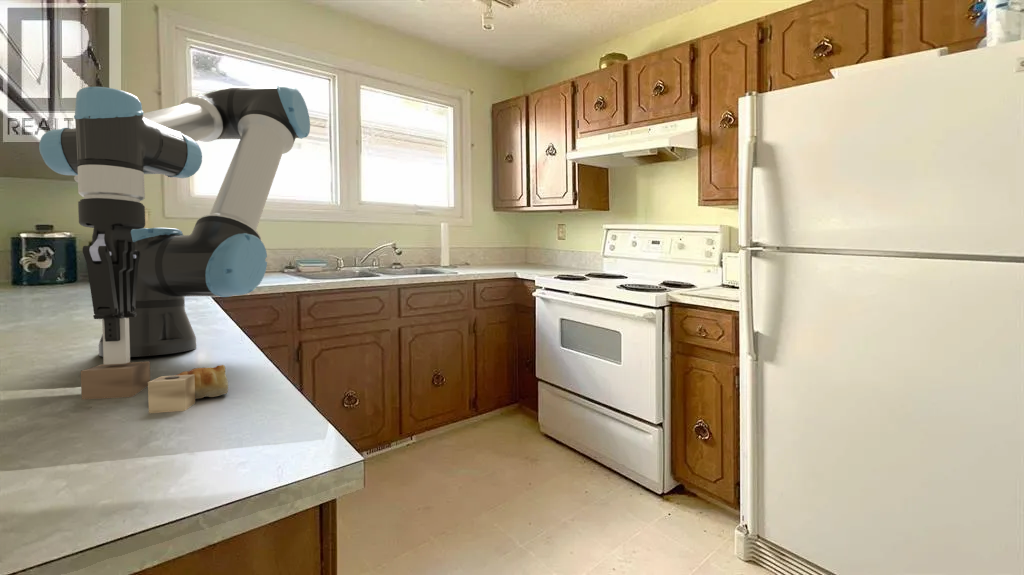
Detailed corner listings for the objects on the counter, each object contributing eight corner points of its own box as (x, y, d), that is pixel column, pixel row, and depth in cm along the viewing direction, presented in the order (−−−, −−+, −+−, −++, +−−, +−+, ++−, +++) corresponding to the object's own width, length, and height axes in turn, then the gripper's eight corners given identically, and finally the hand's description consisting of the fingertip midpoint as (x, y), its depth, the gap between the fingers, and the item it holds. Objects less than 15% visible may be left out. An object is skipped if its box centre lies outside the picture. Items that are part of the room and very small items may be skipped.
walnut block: (104, 393, 75) (103, 363, 75) (150, 390, 76) (149, 361, 76) (81, 403, 69) (80, 370, 69) (132, 399, 71) (131, 368, 71)
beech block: (161, 406, 67) (160, 375, 67) (195, 403, 68) (194, 373, 68) (148, 413, 63) (147, 381, 63) (185, 411, 64) (184, 379, 64)
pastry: (149, 406, 65) (147, 378, 65) (151, 395, 71) (149, 368, 71) (231, 394, 71) (230, 368, 70) (226, 385, 76) (225, 360, 76)
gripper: (101, 205, 77) (105, 358, 78) (55, 191, 65) (61, 373, 65) (158, 207, 79) (162, 355, 80) (124, 194, 67) (129, 369, 68)
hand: (117, 363), depth 73 cm, fingers closed
